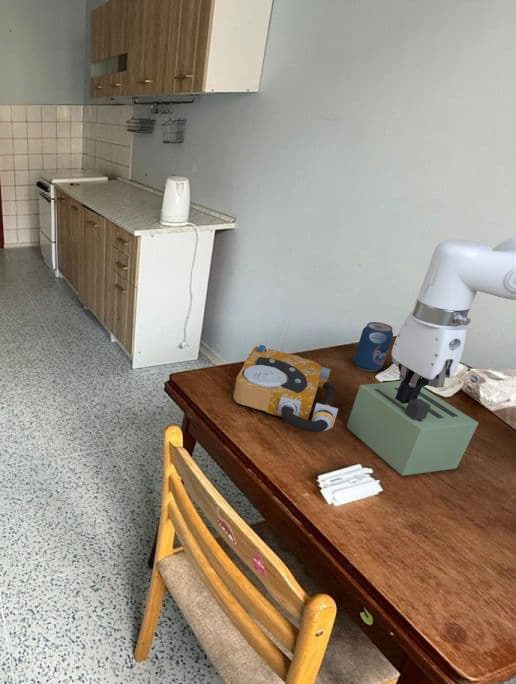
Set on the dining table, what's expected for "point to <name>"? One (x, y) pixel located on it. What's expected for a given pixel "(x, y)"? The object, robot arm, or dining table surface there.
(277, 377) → the device
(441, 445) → the toaster
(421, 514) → the dining table surface
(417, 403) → the slider
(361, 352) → the soda can
